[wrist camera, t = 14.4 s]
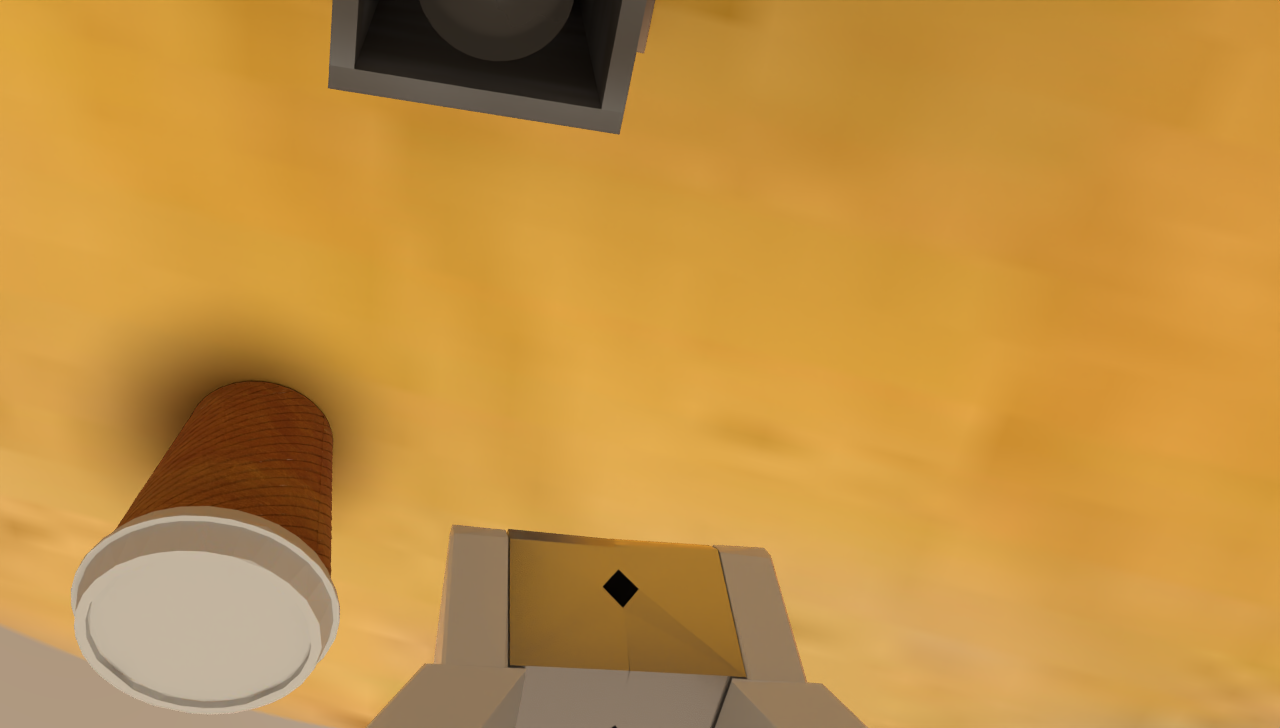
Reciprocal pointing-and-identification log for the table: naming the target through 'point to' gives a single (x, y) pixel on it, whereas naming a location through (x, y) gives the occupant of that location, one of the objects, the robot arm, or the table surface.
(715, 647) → the robot arm
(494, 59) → the plunger
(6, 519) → the table surface
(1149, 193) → the table surface
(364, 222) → the table surface
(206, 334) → the table surface
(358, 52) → the stand
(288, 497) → the disposable coffee cup
